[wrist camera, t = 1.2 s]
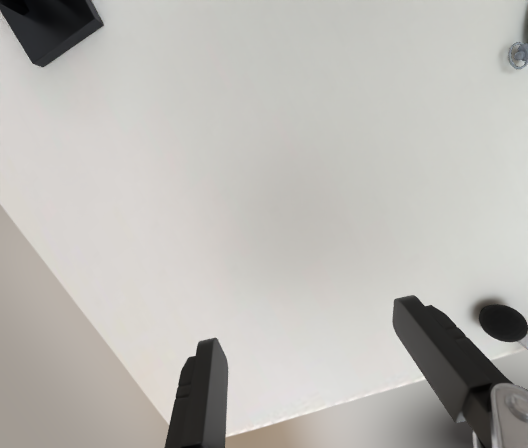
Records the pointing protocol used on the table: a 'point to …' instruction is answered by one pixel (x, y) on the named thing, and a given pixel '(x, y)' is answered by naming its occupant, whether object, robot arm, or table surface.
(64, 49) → the lock bracket
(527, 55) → the pocket watch
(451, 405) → the robot arm
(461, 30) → the table surface
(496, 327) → the valve
